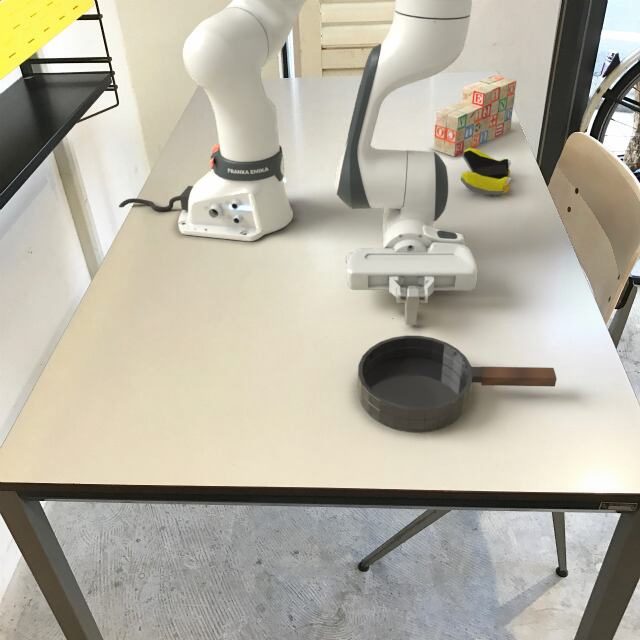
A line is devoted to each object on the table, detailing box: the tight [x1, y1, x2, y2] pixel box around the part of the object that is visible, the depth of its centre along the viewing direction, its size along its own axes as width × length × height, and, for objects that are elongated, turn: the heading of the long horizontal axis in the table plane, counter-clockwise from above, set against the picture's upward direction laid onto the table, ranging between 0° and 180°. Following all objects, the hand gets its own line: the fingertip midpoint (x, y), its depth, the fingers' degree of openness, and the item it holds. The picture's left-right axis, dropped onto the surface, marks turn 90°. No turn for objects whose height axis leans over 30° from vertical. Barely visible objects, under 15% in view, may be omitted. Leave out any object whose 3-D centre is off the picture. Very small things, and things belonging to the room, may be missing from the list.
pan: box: [357, 335, 473, 433], centre depth 95 cm, size 15×15×4 cm
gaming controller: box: [460, 147, 512, 198], centre depth 144 cm, size 15×6×10 cm
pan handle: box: [471, 366, 558, 388], centre depth 93 cm, size 11×2×2 cm, turn 86°
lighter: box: [404, 286, 420, 326], centre depth 105 cm, size 7×2×8 cm, turn 176°
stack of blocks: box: [433, 75, 517, 157], centre depth 161 cm, size 21×6×12 cm, turn 133°
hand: (412, 299), depth 104 cm, fingers closed on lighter, 2 cm apart
